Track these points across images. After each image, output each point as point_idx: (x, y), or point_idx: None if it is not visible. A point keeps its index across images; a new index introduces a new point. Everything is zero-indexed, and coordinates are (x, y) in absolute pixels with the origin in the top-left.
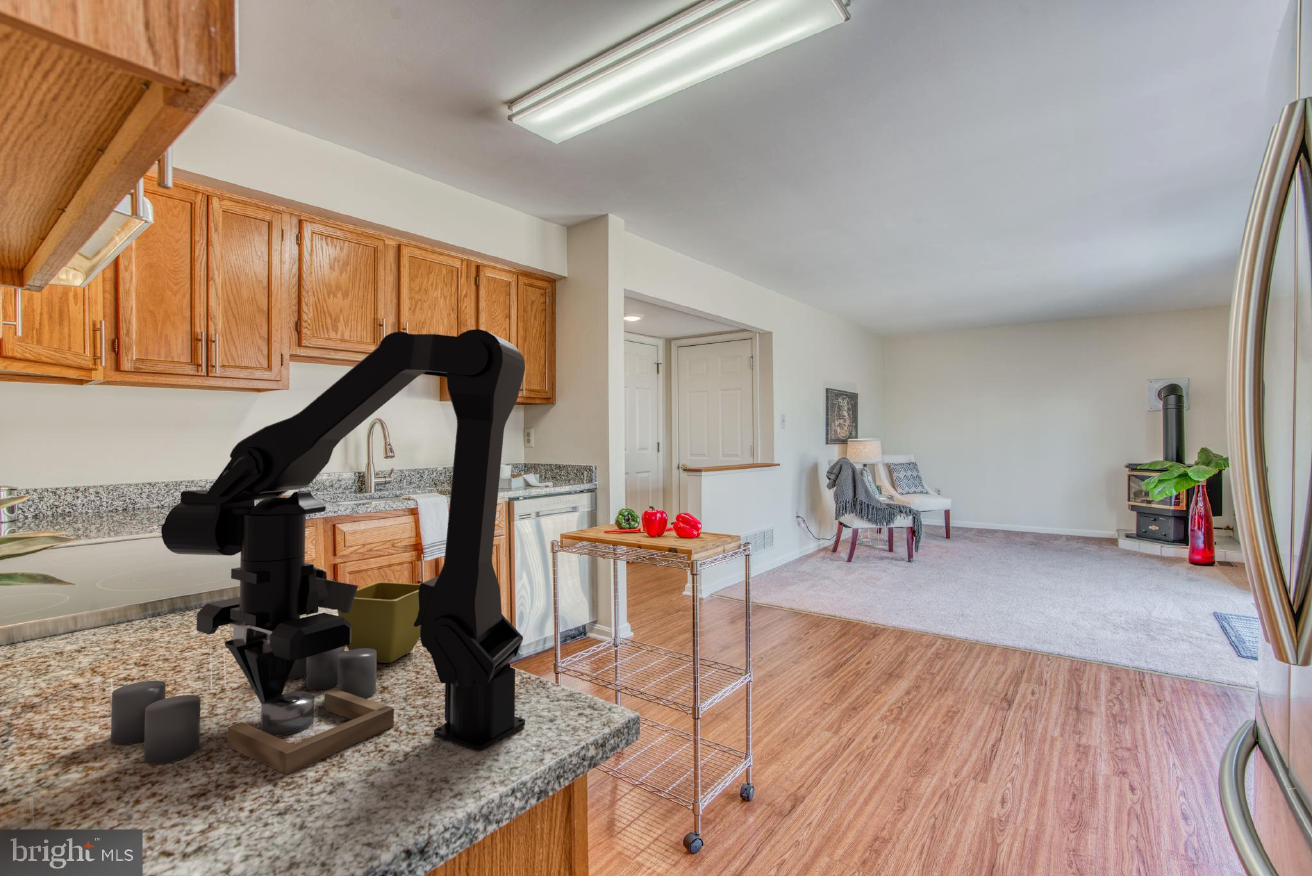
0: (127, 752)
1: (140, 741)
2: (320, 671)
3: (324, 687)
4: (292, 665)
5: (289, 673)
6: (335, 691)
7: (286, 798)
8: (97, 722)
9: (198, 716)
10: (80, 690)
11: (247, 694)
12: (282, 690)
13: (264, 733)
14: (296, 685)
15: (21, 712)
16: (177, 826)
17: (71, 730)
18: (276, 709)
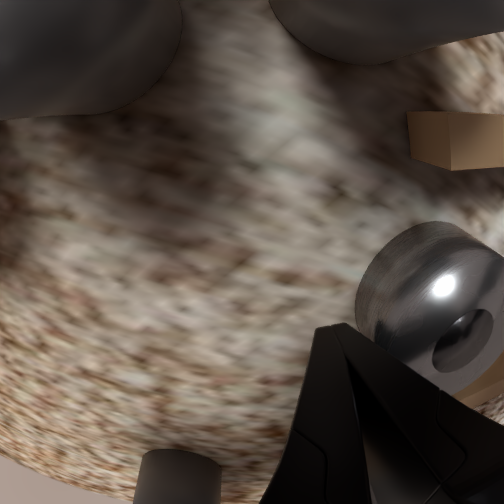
0: (253, 479)
1: (221, 471)
2: (133, 54)
3: (172, 54)
4: (483, 417)
5: (446, 393)
6: (473, 133)
7: None
8: (83, 463)
9: (372, 491)
10: None
11: (41, 295)
12: (383, 352)
13: (500, 382)
14: (44, 143)
15: (17, 461)
16: (499, 421)
17: (100, 478)
18: (477, 374)
